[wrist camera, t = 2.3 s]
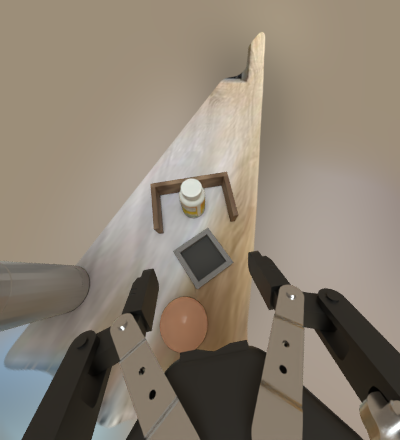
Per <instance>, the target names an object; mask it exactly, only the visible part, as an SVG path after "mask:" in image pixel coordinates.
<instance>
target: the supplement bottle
mask: <svg viewBox="0 0 400 440" xmlns="http://www.w3.org/2000/svg"><path fill="white" fill-rule="evenodd" d="M179 198H180V202H181V205H182V208H183V211H184V213H185V214H186V215H187V216H188V217H191V218H196V217H199V216H200V215H202V213H203V212H204V209H205V191H204V189H203V188H202V185H201V183H200V182H199V181H198V180H196V179H187V180H185V181H184V182H183V183H182V185H181V190H180V193H179Z"/></svg>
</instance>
